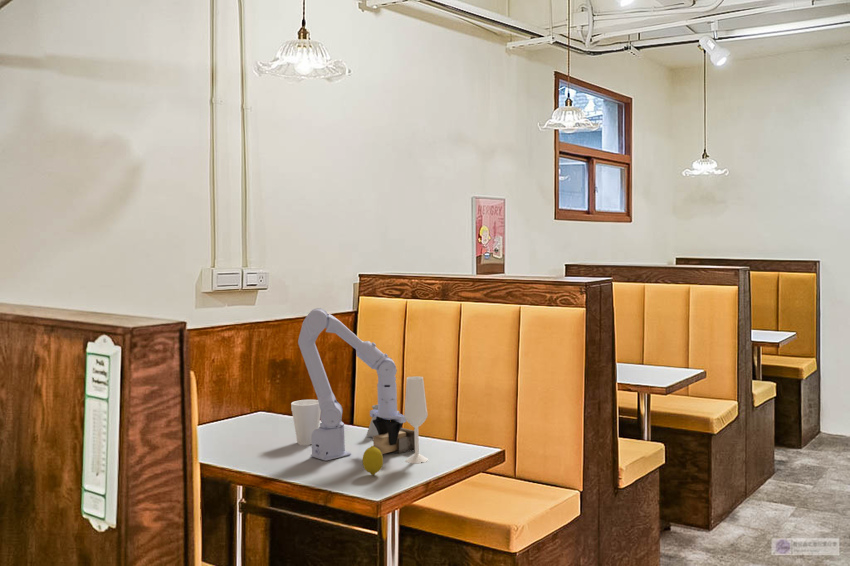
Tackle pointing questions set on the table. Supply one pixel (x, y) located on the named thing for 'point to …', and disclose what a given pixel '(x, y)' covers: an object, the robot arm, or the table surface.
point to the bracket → (406, 441)
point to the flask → (372, 425)
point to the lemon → (372, 460)
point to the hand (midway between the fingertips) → (388, 443)
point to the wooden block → (386, 442)
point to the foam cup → (305, 419)
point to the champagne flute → (415, 411)
